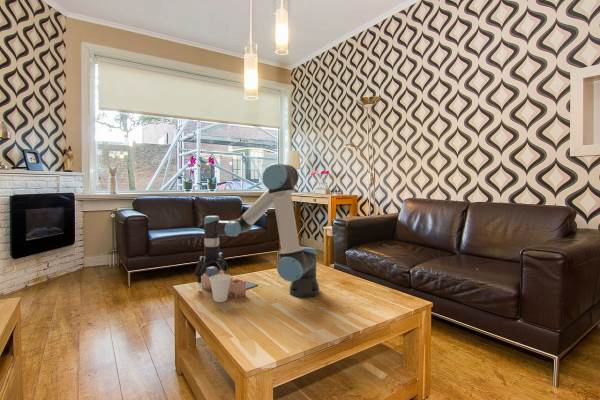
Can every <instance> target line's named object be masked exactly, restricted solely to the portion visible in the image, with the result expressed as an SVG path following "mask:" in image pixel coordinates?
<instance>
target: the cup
mask: <svg viewBox="0 0 600 400" xmlns="http://www.w3.org/2000/svg"><path fill="white" fill-rule="evenodd" d="M231 277H232V276H231V275H230V274H226V273H225V274H220V273H219V274H218V275H213V276H211V277H210V278H209V279H210V282H211V287H212V290H211V291H212V299H213V301H214V302H215V303H224V302H226V301H227V300H228V298H229V296H228V291H229V285H230V279H231Z"/></svg>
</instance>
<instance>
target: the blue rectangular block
mask: <svg viewBox="0 0 600 400" xmlns="http://www.w3.org/2000/svg"><path fill="white" fill-rule="evenodd" d="M217 273H218V267H217V266H214V265H213V266H207V268H206V270H205V274H206V275H208V276H213V275H217Z"/></svg>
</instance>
